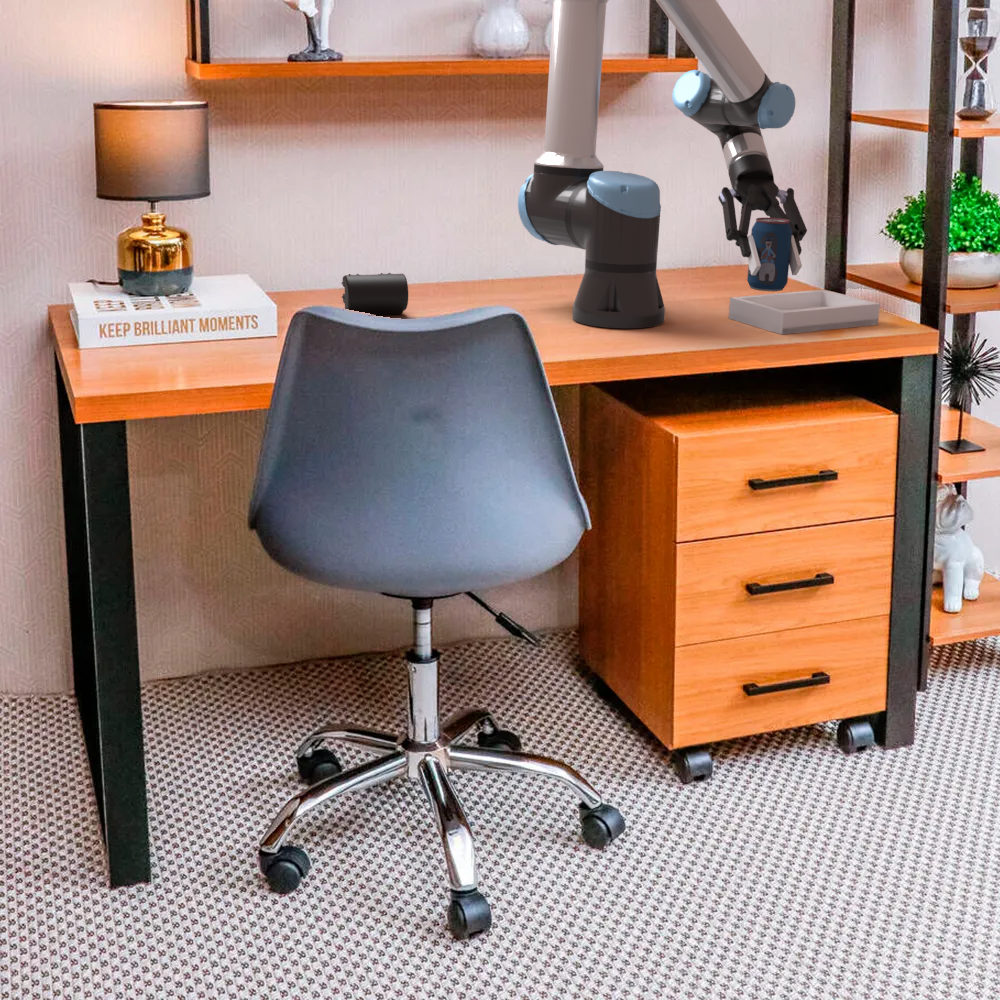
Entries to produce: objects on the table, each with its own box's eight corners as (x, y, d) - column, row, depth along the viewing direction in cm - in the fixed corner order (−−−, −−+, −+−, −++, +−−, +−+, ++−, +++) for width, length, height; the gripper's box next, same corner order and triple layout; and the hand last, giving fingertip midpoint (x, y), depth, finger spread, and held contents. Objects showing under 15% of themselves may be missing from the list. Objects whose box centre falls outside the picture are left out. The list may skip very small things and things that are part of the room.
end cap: (348, 320, 232) (348, 278, 230) (340, 312, 238) (339, 271, 236) (408, 317, 235) (408, 276, 233) (398, 309, 241) (398, 269, 239)
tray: (781, 334, 227) (783, 312, 226) (728, 318, 239) (730, 297, 238) (877, 324, 236) (880, 303, 235) (821, 309, 248) (823, 289, 247)
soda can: (774, 284, 255) (781, 216, 252) (793, 291, 249) (800, 222, 245) (739, 285, 253) (745, 217, 250) (757, 292, 247) (764, 222, 243)
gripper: (792, 179, 262) (821, 283, 252) (690, 178, 258) (715, 283, 248) (807, 152, 256) (838, 257, 246) (702, 150, 251) (730, 257, 241)
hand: (776, 270), depth 247 cm, fingers closed on soda can, 7 cm apart
